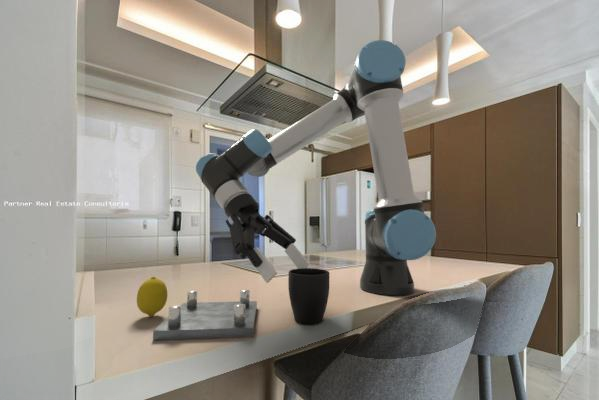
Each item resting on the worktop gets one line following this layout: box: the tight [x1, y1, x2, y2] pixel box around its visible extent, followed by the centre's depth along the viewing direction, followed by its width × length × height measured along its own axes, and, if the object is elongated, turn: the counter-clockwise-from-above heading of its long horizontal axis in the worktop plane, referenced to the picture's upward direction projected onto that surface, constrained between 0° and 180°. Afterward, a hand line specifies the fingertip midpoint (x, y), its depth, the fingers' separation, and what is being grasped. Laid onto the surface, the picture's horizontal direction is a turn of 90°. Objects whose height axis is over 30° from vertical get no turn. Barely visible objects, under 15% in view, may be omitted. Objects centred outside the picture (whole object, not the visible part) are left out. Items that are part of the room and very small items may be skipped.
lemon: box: [136, 276, 168, 318], centre depth 57 cm, size 6×6×8 cm
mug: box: [287, 267, 330, 326], centre depth 57 cm, size 8×12×10 cm
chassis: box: [152, 288, 258, 341], centre depth 54 cm, size 16×16×4 cm
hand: (290, 272), depth 59 cm, fingers open, 13 cm apart
